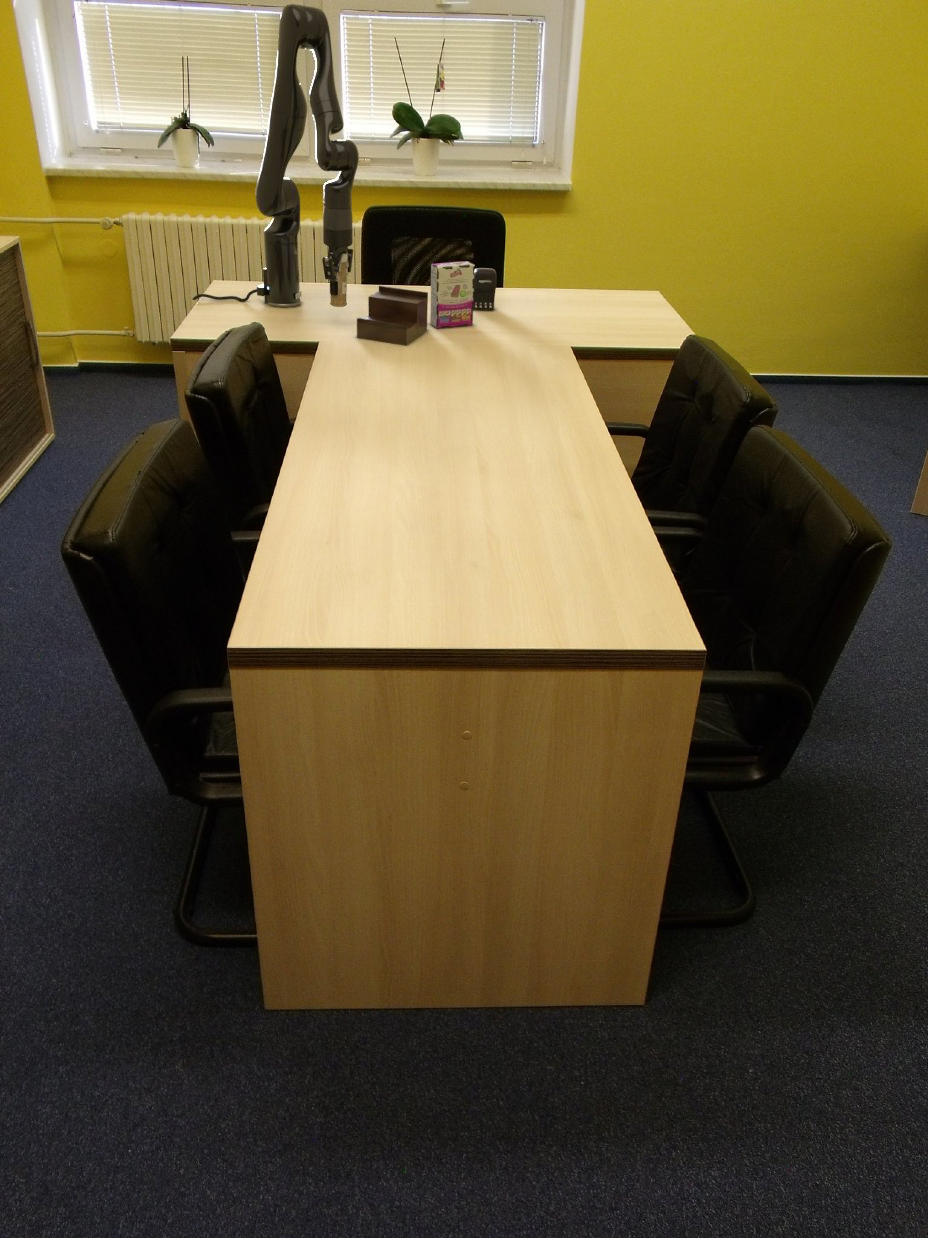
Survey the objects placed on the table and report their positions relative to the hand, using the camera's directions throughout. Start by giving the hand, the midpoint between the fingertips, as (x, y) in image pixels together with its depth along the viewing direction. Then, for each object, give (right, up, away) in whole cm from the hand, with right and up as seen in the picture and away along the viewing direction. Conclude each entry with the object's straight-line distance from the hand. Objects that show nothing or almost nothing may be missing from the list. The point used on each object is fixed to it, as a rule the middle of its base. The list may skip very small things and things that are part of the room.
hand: (338, 292), depth 269 cm
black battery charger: (+39, +3, +26) cm, 47 cm away
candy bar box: (+30, -6, +11) cm, 32 cm away
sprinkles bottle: (0, -3, +2) cm, 3 cm away
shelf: (+14, -11, +1) cm, 18 cm away
